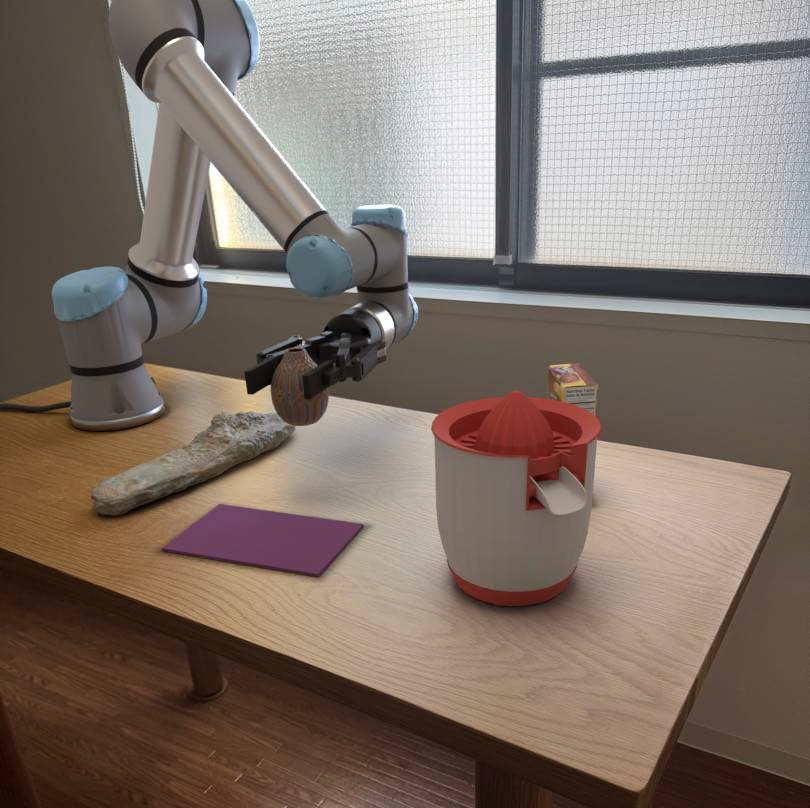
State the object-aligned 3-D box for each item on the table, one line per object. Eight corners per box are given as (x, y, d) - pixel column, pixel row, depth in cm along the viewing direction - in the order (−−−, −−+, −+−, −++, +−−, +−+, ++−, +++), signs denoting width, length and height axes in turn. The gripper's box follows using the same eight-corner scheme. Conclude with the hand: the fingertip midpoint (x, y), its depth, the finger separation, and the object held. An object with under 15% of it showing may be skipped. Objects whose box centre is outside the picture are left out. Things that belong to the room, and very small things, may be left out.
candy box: (542, 478, 101) (547, 363, 93) (574, 476, 101) (582, 362, 93) (556, 508, 93) (563, 385, 86) (591, 506, 93) (601, 383, 86)
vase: (307, 407, 98) (300, 339, 94) (342, 419, 94) (336, 348, 90) (263, 422, 94) (253, 351, 90) (297, 435, 90) (289, 361, 85)
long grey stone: (77, 515, 100) (125, 538, 95) (66, 480, 97) (115, 501, 92) (265, 421, 123) (312, 435, 118) (261, 390, 120) (309, 403, 115)
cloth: (162, 551, 88) (161, 548, 87) (220, 506, 97) (219, 503, 97) (318, 577, 81) (318, 574, 81) (363, 526, 91) (363, 523, 91)
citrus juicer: (489, 648, 69) (492, 439, 59) (411, 562, 83) (403, 382, 73) (631, 604, 74) (655, 405, 64) (535, 530, 88) (542, 358, 78)
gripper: (426, 367, 104) (358, 424, 86) (297, 358, 111) (208, 409, 92) (424, 311, 101) (353, 357, 82) (292, 305, 107) (198, 347, 88)
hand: (277, 385), depth 87 cm, fingers closed on vase, 7 cm apart
